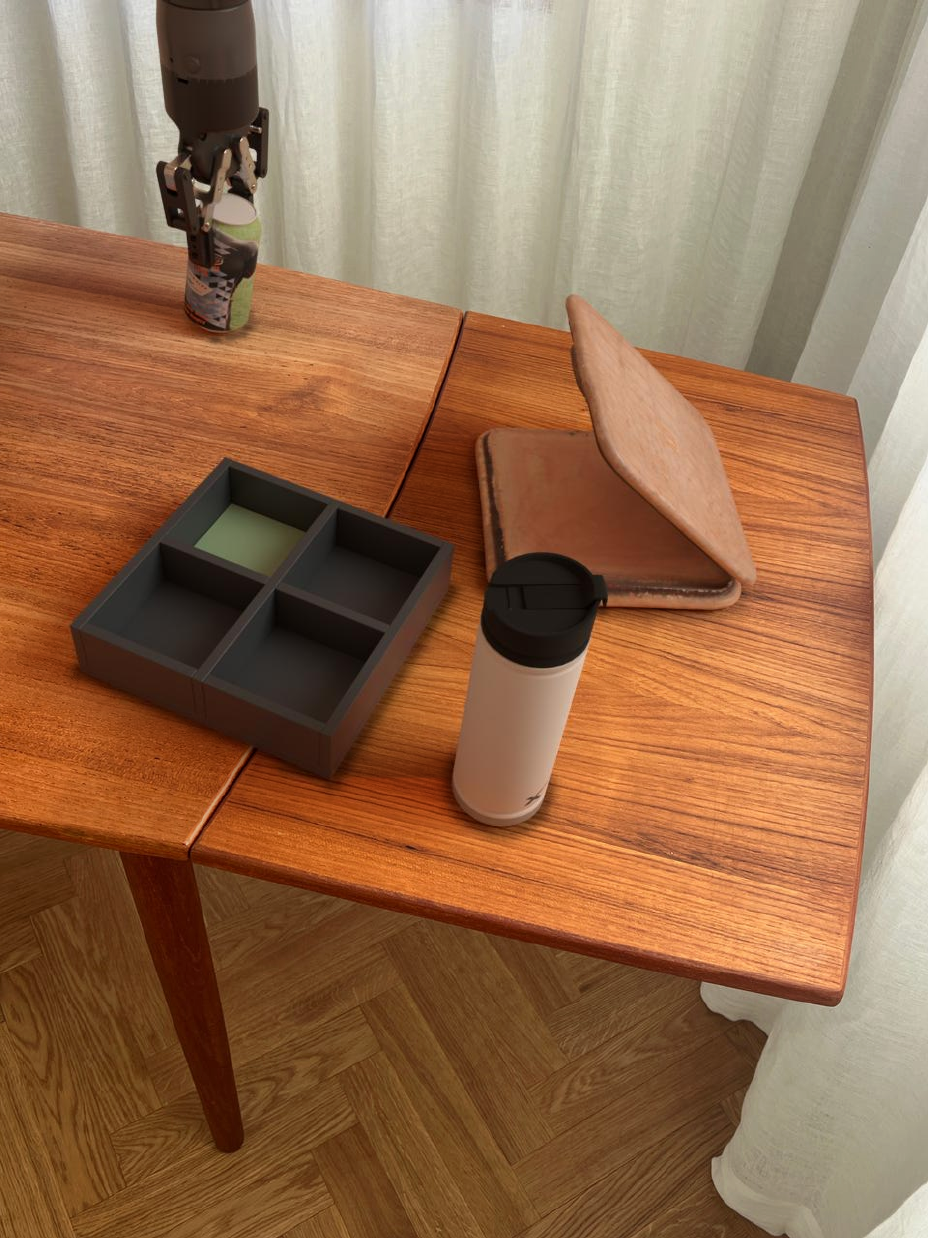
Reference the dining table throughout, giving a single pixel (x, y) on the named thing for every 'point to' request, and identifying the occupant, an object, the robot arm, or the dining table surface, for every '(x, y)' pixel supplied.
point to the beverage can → (226, 268)
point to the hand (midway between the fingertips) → (222, 246)
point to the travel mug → (523, 683)
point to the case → (619, 485)
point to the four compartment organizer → (267, 614)
